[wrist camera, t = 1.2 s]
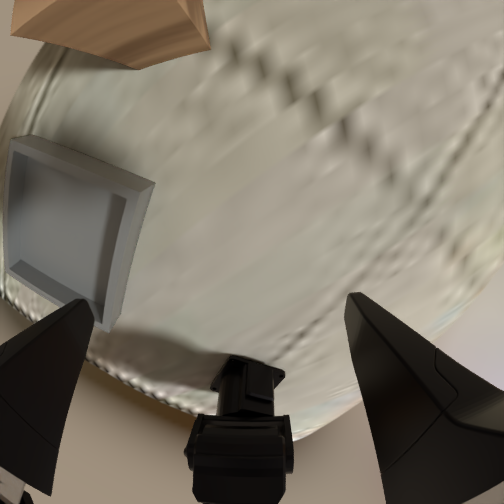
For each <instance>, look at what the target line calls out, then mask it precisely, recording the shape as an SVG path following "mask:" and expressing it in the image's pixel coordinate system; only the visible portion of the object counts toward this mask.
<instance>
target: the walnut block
mask: <svg viewBox="0 0 504 504" xmlns="http://www.w3.org/2000/svg"><path fill="white" fill-rule="evenodd" d="M11 36H17V37H23V38H28V39H34V40H39V41H43V42H48V43H52V44H57V45H61V46H65V47H69V48H72V49H76V50H80V51H83V52H87V53H90V54H93V55H97V56H100V57H103V58H106V59H109V60H112V61H115V62H118V63H121V64H124V65H126V66H129V67H132V68H135V69H137V70H140V69H143V68H146V67H149V66H152V65H155V64H158V63H162V62H165V61H168V60H172V59H175V58H179V57H182V56H186V55H190V54H194V53H198V52H203V51H207V50H211V47H210V41H209V35H208V30H207V24H206V18H205V12H204V6H203V0H15V2H14V8H13V15H12V24H11Z"/></svg>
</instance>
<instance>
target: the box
mask: <svg viewBox="0 0 504 504" xmlns="http://www.w3.org/2000/svg"><path fill="white" fill-rule="evenodd" d="M154 186H155V182H152V181H150V180H147V179H145V178H143V177H140V176H138V175H135V174H133V173H130V172H128V171H125V170H123V169H120V168H118V167H115V166H113V165H110V164H108V163H105V162H103V161H100V160H98V159H95V158H93V157H90V156H87V155H85V154H82V153H80V152H77V151H74V150H72V149H69V148H67V147H64V146H61V145H59V144H56V143H53V142H51V141H48V140H45V139H43V138H40V137H37V136H34V135H28V136H23V137H18V138H14V139H10V144H9V151H8V157H7V165H6V174H5V185H4V200H3V249H4V264H5V272H6V273H8V274H9V275H10V276H12V277H13V278H15V279H16V280H18V281H19V282H21V283H22V284H24V285H25V286H27V287H28V288H30V289H31V290H33V291H34V292H36V293H37V294H39V295H41V296H42V297H44V298H45V299H47V300H49V301H50V302H52V303H54V304H55V305H57V306H59V307H60V308H61V307H63V306H64V305H66V304H68V303H69V302H71V301H73V300H74V299H77V298H82V299H86V300H87V301H88V303H89V306H90V308H91V310H92V312H93V314H94V318H95V323H94V326H95V327H97V328H99V329H101V330H103V331H105V332H107V333H110V331H111V329H112V328H113V326H114V324H115V323H116V321H117V319H118V318H119V316H120V314H121V309H122V304H123V299H124V295H125V290H126V285H127V281H128V277H129V272H130V268H131V264H132V260H133V256H134V252H135V249H136V245H137V241H138V238H139V234H140V231H141V227H142V224H143V220H144V217H145V214H146V211H147V207H148V204H149V201H150V198H151V195H152V192H153V189H154Z"/></svg>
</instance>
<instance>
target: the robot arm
mask: <svg viewBox="0 0 504 504" xmlns="http://www.w3.org/2000/svg"><path fill="white" fill-rule="evenodd" d="M344 320H345V325H346V330H347V336H348V341H349V347H350V353H351V358H352V363H353V366H354V370H355V373H356V377H357V380H358V384H359V387H360V391H361V394H362V398H363V402H364V406H365V409H366V413H367V417H368V421H369V425H370V429H371V433H372V437H373V441H374V445H375V450H376V454H377V459H378V464H379V468H380V473H381V479H382V484H383V489H384V494H385V500H386V504H504V391H502V390H500V389H499V388H497V387H495V386H494V385H492V384H490V383H489V382H487V381H486V380H484V379H483V378H481V377H479V376H478V375H476V374H475V373H473V372H471V371H470V370H468V369H467V368H465V367H464V366H462V365H461V364H459V363H458V362H456V361H455V360H454V359H452V358H451V357H449V356H448V355H447V354H445V353H444V352H443V351H441V350H440V349H439V348H436V347H435V346H434V345H433V344H432V343H430V342H429V341H428V340H426V339H425V338H424V337H422V336H421V335H420V334H418V333H417V332H416V331H414V330H413V329H412V328H410V327H409V326H407V325H406V324H405V323H403V322H402V321H401V320H399V319H398V318H396V317H395V316H394V315H392V314H391V313H390V312H388V311H387V310H385V309H384V308H383V307H381V306H380V305H378V304H377V303H376V302H374V301H373V300H371V299H370V298H369V297H367V296H366V295H364V294H363V293H361V292H354V293H349V294H348V296H347V301H346V307H345V313H344ZM94 323H95V318H94V314H93V312H92V310H91V308H90V306H89V303H88V301H87V300H86V299H82V298H77V299H74V300H73V301H71V302H69V303H68V304H66V305H64V306H63V307H61V308H59V309H58V310H56V311H54V312H53V313H51V314H49V315H48V316H46V317H44V318H43V319H41V320H40V321H38V322H36V323H35V324H33V325H31V326H30V327H28V328H27V329H25V330H24V331H22V332H20V333H19V334H17V335H16V336H14V337H13V338H11V339H10V340H8V341H6V342H5V343H3V344H2V345H1V346H0V504H34V503H33V501H32V498H31V496H30V494H29V493H28V492H26V491H25V490H24V487H25V484H26V483H27V484H28V485H30V486H32V487H33V488H35V489H37V490H39V491H41V492H42V493H44V494H46V495H48V496H51V494H52V488H53V487H52V486H53V481H54V474H55V468H56V463H57V458H58V453H59V447H60V442H61V438H62V434H63V430H64V426H65V421H66V418H67V414H68V410H69V407H70V403H71V400H72V396H73V393H74V390H75V386H76V383H77V380H78V377H79V374H80V371H81V368H82V365H83V362H84V359H85V356H86V352H87V349H88V345H89V341H90V337H91V333H92V330H93V326H94ZM233 360H234V361H233ZM284 378H285V372H284V371H282V370H278V369H275V368H271V367H268V366H265V365H261V364H258V363H255V362H252V361H249V360H245V359H242V358H239V357H236V356H230V357H229V358H228V359H227V361H226V362H225V364H224V365H223V367H222V368H221V370H220V372H219V373H218V375H217V376H216V378H215V379H214V381H213V382H212V384H211V386H210V389H211V390H212V391H215V392H218V393H219V397H218V405H217V413H216V415H204V414H198V416H197V419H196V420H195V422H194V425H193V428H192V431H191V434H190V437H189V440H188V444H187V446H186V448H185V449H184V455H185V456H186V457H187V459H188V466H189V469H190V470H191V471H193V488H192V492H193V494H194V496H195V498H196V500H197V501H198V502H201V503H203V504H278V503H279V501H280V500H281V498H282V497H283V495H284V493H285V490H286V487H285V486H286V485H285V484H286V478H285V477H286V474H292V473H293V466H294V449H293V440H292V432H291V425H290V417H289V415H283V416H274V389H275V388H276V387H277V386H278V384H279V383H280V382H281V381H282V380H283V379H284Z"/></svg>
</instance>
